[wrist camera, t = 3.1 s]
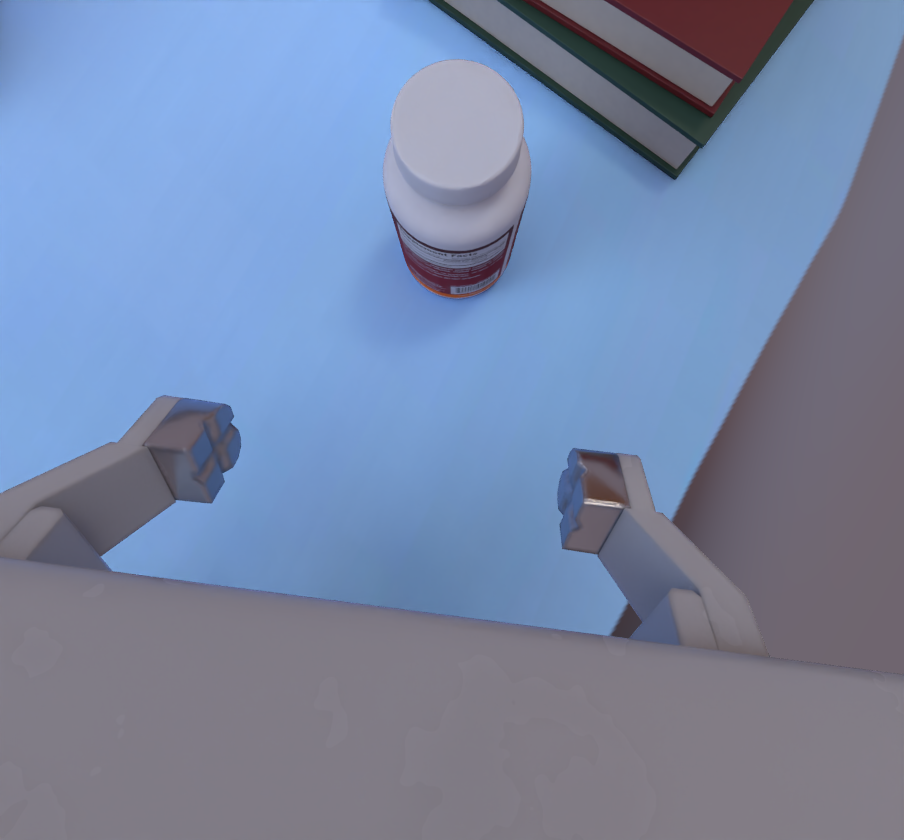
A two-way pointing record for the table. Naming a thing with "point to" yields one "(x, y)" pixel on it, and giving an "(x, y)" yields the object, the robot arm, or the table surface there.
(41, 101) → the table surface
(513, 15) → the lower book
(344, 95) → the table surface
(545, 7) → the upper book
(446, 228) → the pill bottle
